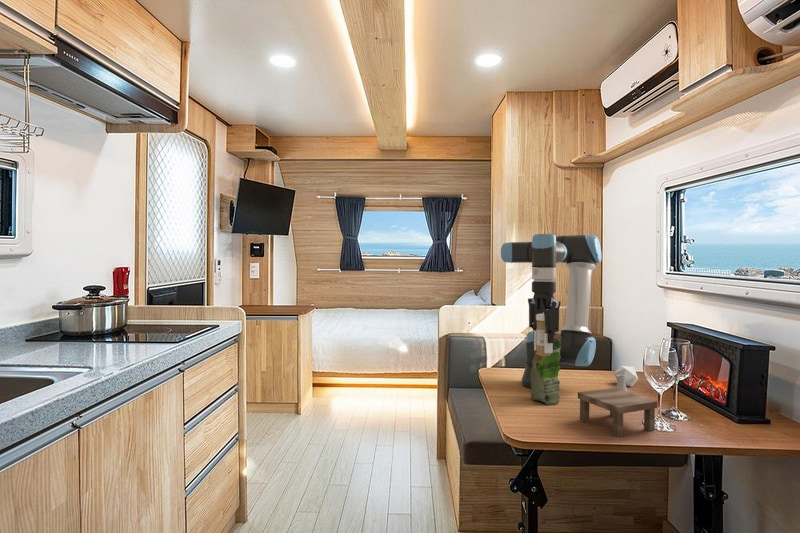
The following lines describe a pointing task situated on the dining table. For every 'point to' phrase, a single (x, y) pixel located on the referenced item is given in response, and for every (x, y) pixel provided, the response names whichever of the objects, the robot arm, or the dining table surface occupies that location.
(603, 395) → the walnut stool
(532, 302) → the robot arm
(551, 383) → the pouch
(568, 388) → the dining table surface
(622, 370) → the die
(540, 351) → the sprinkles bottle
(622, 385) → the flask
